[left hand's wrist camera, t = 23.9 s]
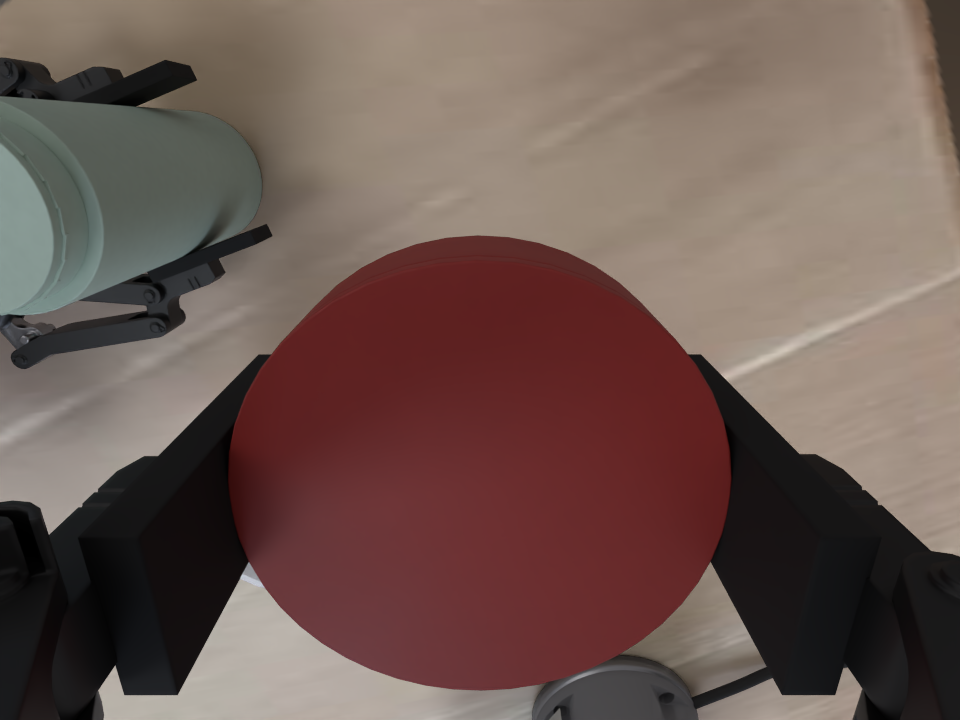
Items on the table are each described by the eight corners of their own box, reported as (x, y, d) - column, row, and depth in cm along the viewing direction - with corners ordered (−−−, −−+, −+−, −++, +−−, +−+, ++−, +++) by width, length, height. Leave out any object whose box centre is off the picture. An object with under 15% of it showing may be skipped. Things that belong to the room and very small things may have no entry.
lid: (227, 538, 13) (179, 616, 11) (343, 159, 10) (306, 166, 8) (577, 648, 14) (594, 738, 12) (769, 335, 11) (834, 381, 9)
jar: (286, 204, 40) (118, 267, 21) (188, 261, 41) (-51, 367, 22) (211, 85, 37) (-55, 38, 18) (109, 150, 38) (-234, 167, 20)
